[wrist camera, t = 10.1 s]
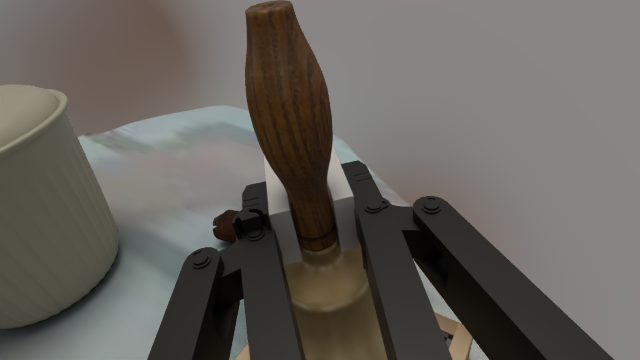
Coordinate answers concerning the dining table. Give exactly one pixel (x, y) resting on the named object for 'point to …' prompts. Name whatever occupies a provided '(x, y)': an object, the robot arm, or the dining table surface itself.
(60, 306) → the canister
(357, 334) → the hand bell
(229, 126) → the dining table surface
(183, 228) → the dining table surface
